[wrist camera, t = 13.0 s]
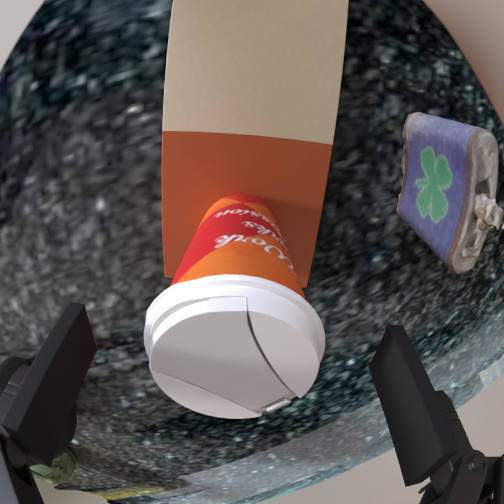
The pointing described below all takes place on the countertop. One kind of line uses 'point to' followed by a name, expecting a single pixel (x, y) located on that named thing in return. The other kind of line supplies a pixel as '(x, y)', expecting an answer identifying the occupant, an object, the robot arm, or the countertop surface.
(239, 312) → the paper cup
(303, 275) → the board
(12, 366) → the squash
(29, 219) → the countertop surface
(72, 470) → the mug
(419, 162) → the flask
